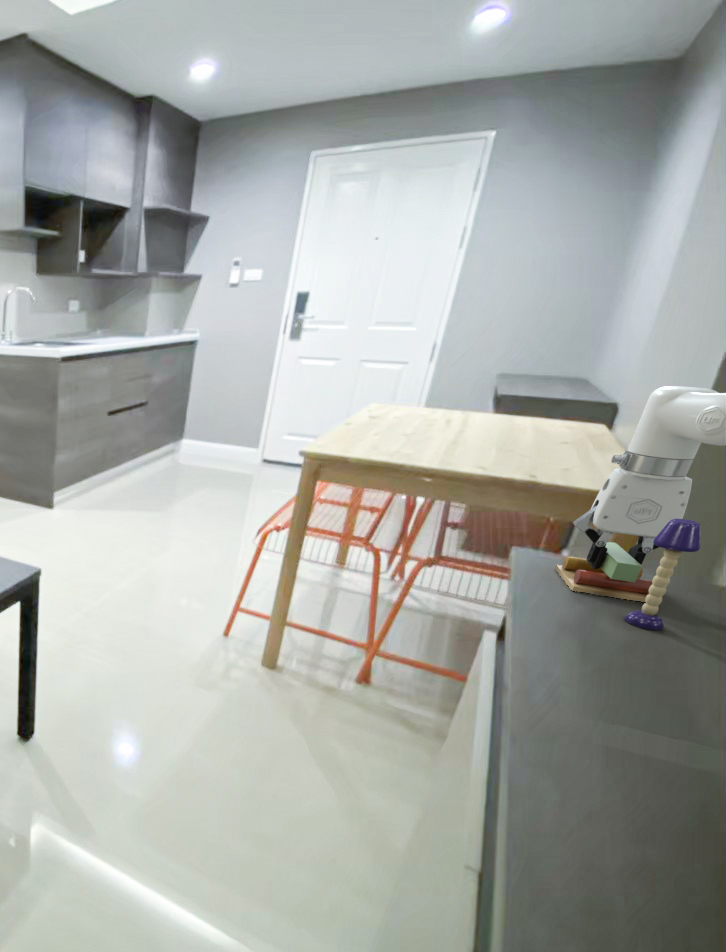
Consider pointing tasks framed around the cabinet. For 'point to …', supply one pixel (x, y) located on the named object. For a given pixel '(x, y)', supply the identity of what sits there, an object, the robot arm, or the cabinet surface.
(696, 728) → the cabinet surface
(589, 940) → the cabinet surface
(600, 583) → the rod stand
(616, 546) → the bar
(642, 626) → the toy lamp
